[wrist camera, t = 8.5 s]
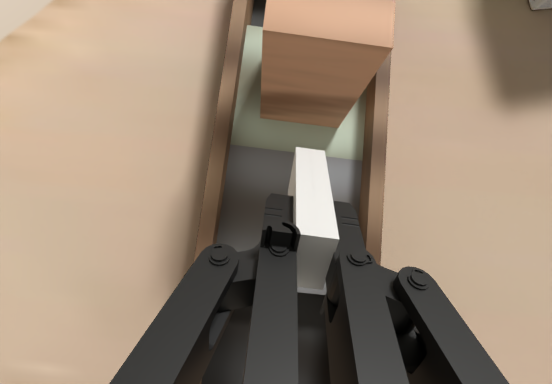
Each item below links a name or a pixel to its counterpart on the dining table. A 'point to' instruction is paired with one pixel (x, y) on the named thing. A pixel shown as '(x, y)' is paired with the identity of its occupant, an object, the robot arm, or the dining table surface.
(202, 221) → the box
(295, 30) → the block
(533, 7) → the light bulb box
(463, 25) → the dining table surface
